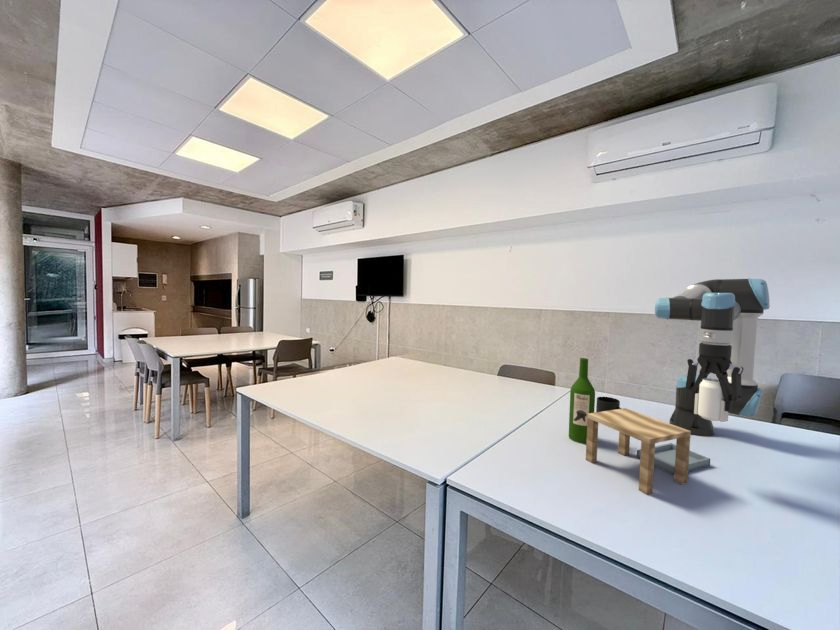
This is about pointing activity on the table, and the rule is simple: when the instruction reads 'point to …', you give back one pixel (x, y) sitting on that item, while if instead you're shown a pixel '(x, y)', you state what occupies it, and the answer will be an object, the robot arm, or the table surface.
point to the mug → (607, 404)
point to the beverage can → (710, 399)
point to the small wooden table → (648, 434)
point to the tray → (666, 458)
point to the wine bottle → (581, 404)
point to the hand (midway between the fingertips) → (710, 416)
